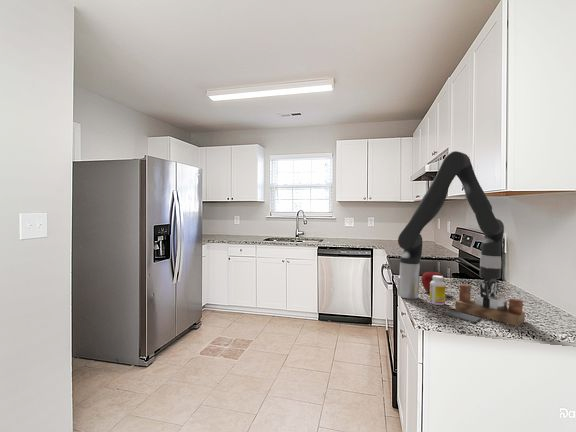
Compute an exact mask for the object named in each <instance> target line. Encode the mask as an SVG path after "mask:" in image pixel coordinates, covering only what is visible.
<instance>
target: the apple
mask: <svg viewBox="0 0 576 432" xmlns="http://www.w3.org/2000/svg"><path fill="white" fill-rule="evenodd" d="M434 275H437V276H442V277H444V275H443V274H442V273H440V272H437V271H436V272H435V271H426V272H424V273H423V274H422V275H421V277H420V279H421V284H422V287H423V289H424V290H425V291H426V292H427V293H428V294H430V282H431V281H433V278H432V277H433V276H434ZM444 281H445V279H443V282H444ZM444 283H445V282H444Z"/></svg>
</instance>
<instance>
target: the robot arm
mask: <svg viewBox="0 0 576 432" xmlns="http://www.w3.org/2000/svg"><path fill="white" fill-rule="evenodd" d="M456 176H457V178H458V179H459V181H460V183H461V186H463V190H464V193H465V197H466V200H467V202H468V204H469V206H470V208H471V210H472V212H473V213H474V216H475V219H476V222H477V224H478V227H479V229H480V231H481V232H482V233H483V234H484V237H483V241H482V243H481V246H480V247H481V249H480V250H481V252H480V260H479V276H480V277H481V278H483V281H482V283H480V284H479V290H480V294H481V297H482V298H483V307H486V308H489V302H490V296H494V297H497V295H498V290H499V284H500V283H499V282H500V281H499V279H501V277H502V243H503V239H504V234H505V232H504V231H505V226H504V223H503V222H502V220H501V219H499V218H496V216H495V214H494V212H493V206H492V204H491V203H490V200H489V198H488V196H487V195H486V193H485V192H484V190H483V188H482V186H481V185H480V183H479V181H478V178H477V176H476V174H475V170H474V168H473V165H472V162H471V159H470V156H469V155H467V154H466V153H464V152H461V151H459V150H458V151H457V150H456V151H451V152H449V153H448V154H446V155H445V156H444V158H443V160H442V163H441V165H440V167H439V169H438V171H437V173H436V175H435V177H434V179H433V181H432V182H431V184H430V185H429V187H428V188H427V190H426V192H425V193H424V195H423V197H422V199H421V200H420V202H419V204H418V205H417V208H416V209H415V211H414V213H413V214H412V216H411V218H410V220H409V222H408V223H407V224H406V226H404V228H403V229H402V231H401V232H400V234H399V235H398V237H397V243H398V246H399V247H400V248H401V249H403V252H402V255H400V257H399V276H397V287H396V289H397V290H396V293H397V294H396V295H397V297H398V296H399V297H400V298H403V299H408V300H417V299H419V294H420V293H419V292H420V290H419V289H420V288H419V287H420V262H421V258H422V252H423V236H422V235H421V233H422V231H423V229H424V228H425V227H426V225H428V224H429V223H430V222H431V221H432V220H433V219H434V218H436V216H437V214H438V213H439V212H440V210H441V209H442V207H443V205H444V204H445V201H446V199H447V196H448V192H449V188H450V186H451V184H452V183H453V180H454V179H455V178H456Z"/></svg>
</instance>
